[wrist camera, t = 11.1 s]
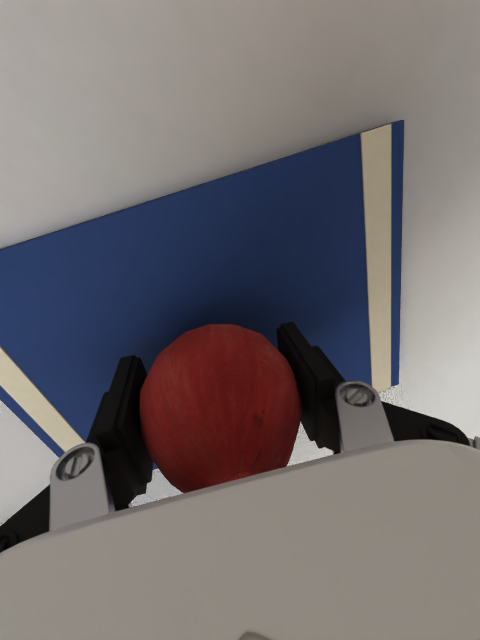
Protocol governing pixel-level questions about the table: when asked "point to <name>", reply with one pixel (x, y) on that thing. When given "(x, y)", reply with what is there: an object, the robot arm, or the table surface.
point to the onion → (219, 407)
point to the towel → (210, 278)
